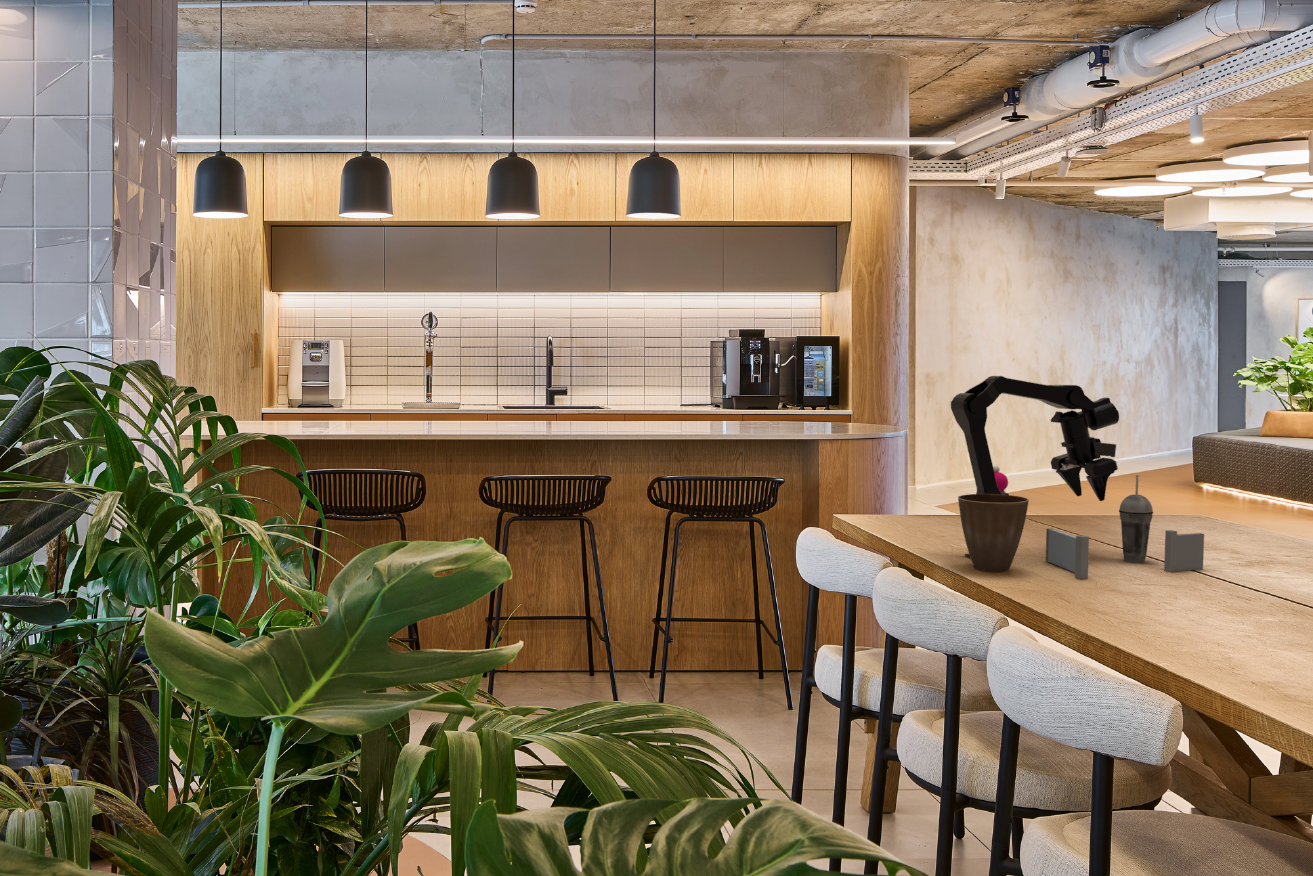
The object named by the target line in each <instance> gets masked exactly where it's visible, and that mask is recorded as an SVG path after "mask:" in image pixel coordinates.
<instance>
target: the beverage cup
mask: <svg viewBox="0 0 1313 876" xmlns="http://www.w3.org/2000/svg"><path fill="white" fill-rule="evenodd" d="M1134 493H1135V494H1130V495H1127V496H1126V497H1124V498H1123V500H1121V503H1120V505H1119V509H1118V512H1119V518H1120V526H1121V542H1122V554H1123V561H1124V562H1125V563H1132V564H1133V563H1134V564H1137V563H1138V564H1142V563H1146V558H1147V557H1146V556H1147V553H1148V545H1149V537H1150V530H1151V522H1152V519H1153V514H1154V510H1153V506H1152V503H1151V501H1150V500H1149V499H1148V498H1147V497H1146V496H1145V495H1141V494H1139V475H1138V474H1137V475H1135V492H1134Z"/></svg>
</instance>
